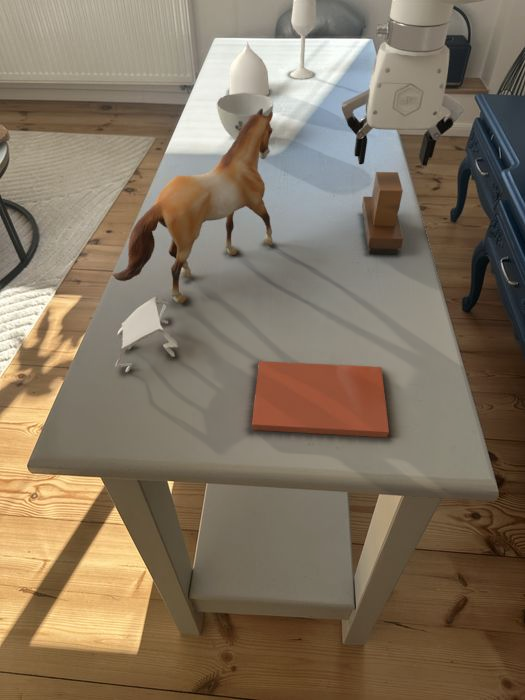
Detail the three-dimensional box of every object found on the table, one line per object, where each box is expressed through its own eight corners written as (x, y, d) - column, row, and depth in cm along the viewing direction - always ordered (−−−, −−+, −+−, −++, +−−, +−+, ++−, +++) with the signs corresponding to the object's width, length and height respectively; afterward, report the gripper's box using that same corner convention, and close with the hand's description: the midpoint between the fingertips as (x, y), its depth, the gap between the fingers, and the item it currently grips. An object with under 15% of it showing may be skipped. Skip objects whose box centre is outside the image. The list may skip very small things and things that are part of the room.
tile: (380, 372, 63) (381, 366, 63) (387, 437, 57) (389, 432, 56) (259, 366, 65) (259, 360, 64) (252, 430, 58) (252, 424, 57)
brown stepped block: (360, 213, 90) (368, 161, 82) (390, 214, 89) (400, 162, 82) (366, 255, 81) (376, 201, 73) (399, 256, 80) (412, 202, 73)
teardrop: (273, 97, 128) (273, 46, 120) (233, 101, 127) (230, 50, 118) (264, 83, 136) (263, 33, 127) (225, 87, 134) (222, 37, 125)
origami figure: (177, 375, 64) (172, 350, 60) (114, 376, 64) (105, 351, 60) (187, 313, 72) (182, 288, 68) (131, 314, 72) (124, 288, 68)
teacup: (273, 150, 108) (273, 113, 102) (217, 150, 108) (214, 113, 102) (273, 122, 118) (273, 87, 112) (222, 122, 118) (219, 87, 112)
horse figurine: (265, 222, 88) (264, 104, 73) (296, 240, 84) (301, 118, 69) (120, 304, 73) (80, 177, 58) (150, 329, 70) (115, 201, 55)
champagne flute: (302, 68, 143) (306, -33, 125) (317, 74, 140) (324, -30, 122) (285, 74, 140) (287, -30, 123) (300, 80, 137) (305, -26, 119)
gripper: (351, 43, 61) (337, 171, 73) (491, 44, 60) (452, 174, 73) (347, 26, 66) (335, 148, 78) (477, 26, 65) (442, 150, 78)
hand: (391, 160), depth 75 cm, fingers open, 9 cm apart
